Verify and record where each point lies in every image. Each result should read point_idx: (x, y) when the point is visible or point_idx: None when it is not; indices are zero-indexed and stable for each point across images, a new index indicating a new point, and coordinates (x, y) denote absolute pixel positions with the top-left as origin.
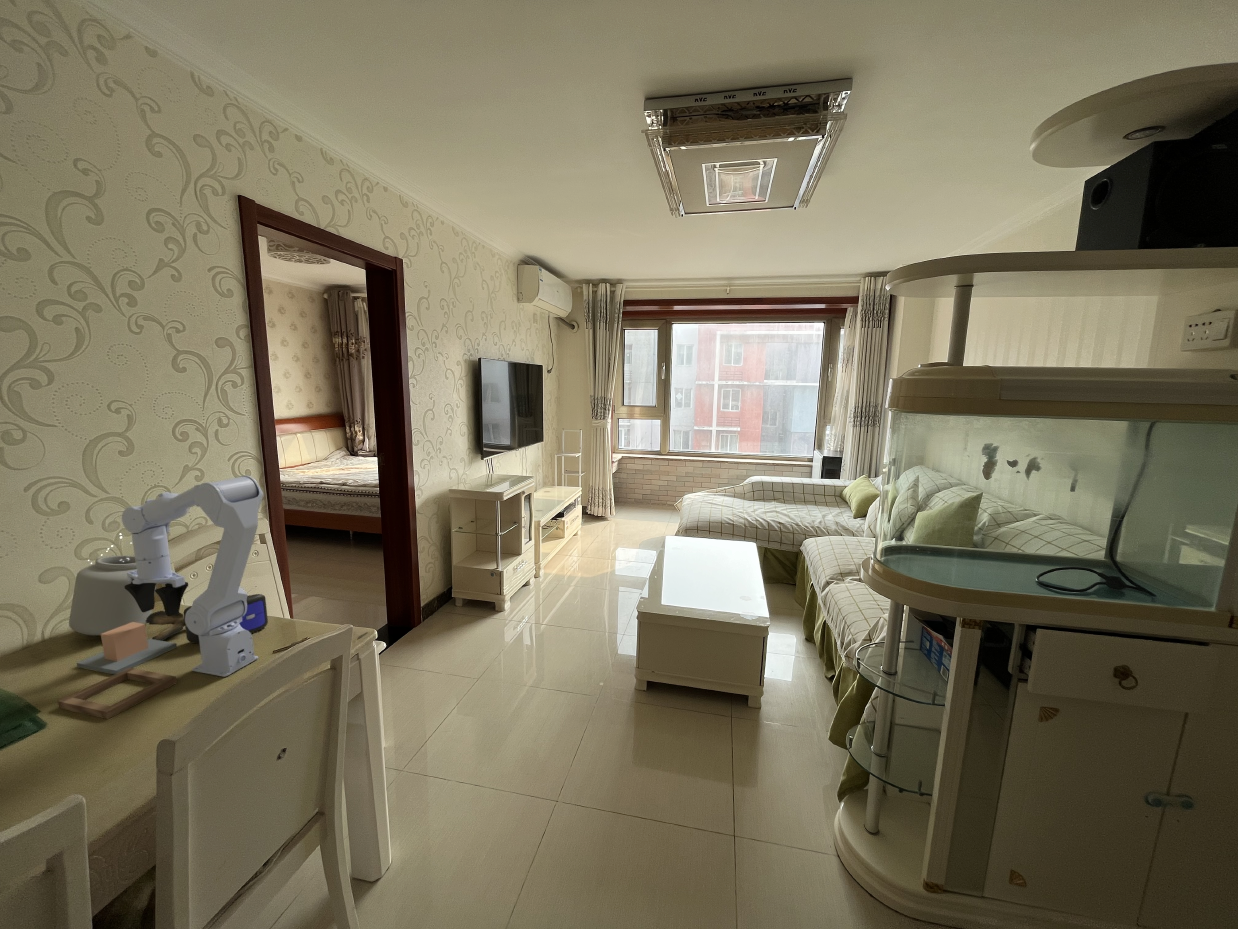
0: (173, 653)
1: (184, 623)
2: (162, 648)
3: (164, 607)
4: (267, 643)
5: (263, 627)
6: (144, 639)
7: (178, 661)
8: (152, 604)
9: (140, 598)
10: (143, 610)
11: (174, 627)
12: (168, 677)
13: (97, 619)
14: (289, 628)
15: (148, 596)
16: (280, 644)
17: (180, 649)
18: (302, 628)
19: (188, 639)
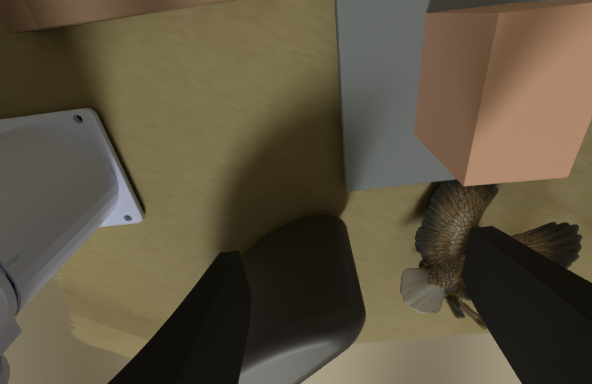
0: (309, 156)
1: (429, 267)
2: (355, 152)
3: (206, 304)
4: (117, 282)
5: None
6: (430, 141)
7: (226, 130)
8: (481, 302)
9: (573, 332)
10: (479, 238)
11: (442, 243)
12: (19, 13)
13: None
14: None
15: (544, 367)
16: (80, 289)
17: (317, 179)
18: (136, 344)
19: (329, 218)
